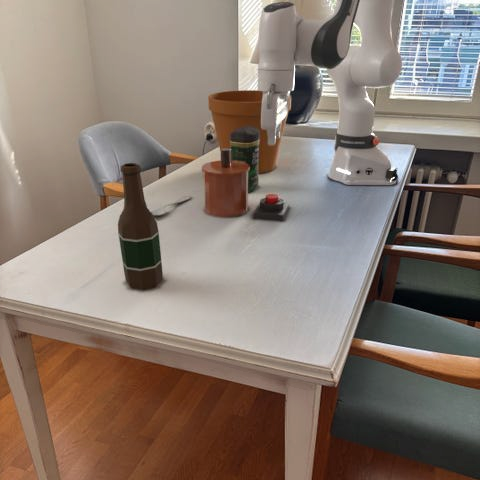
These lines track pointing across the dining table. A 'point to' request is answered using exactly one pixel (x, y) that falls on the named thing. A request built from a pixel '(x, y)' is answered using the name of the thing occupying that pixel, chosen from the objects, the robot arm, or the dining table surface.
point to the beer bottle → (138, 234)
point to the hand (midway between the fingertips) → (273, 141)
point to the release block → (271, 210)
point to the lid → (225, 165)
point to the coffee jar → (247, 151)
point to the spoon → (161, 209)
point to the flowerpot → (244, 122)
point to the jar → (226, 194)
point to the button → (272, 198)
